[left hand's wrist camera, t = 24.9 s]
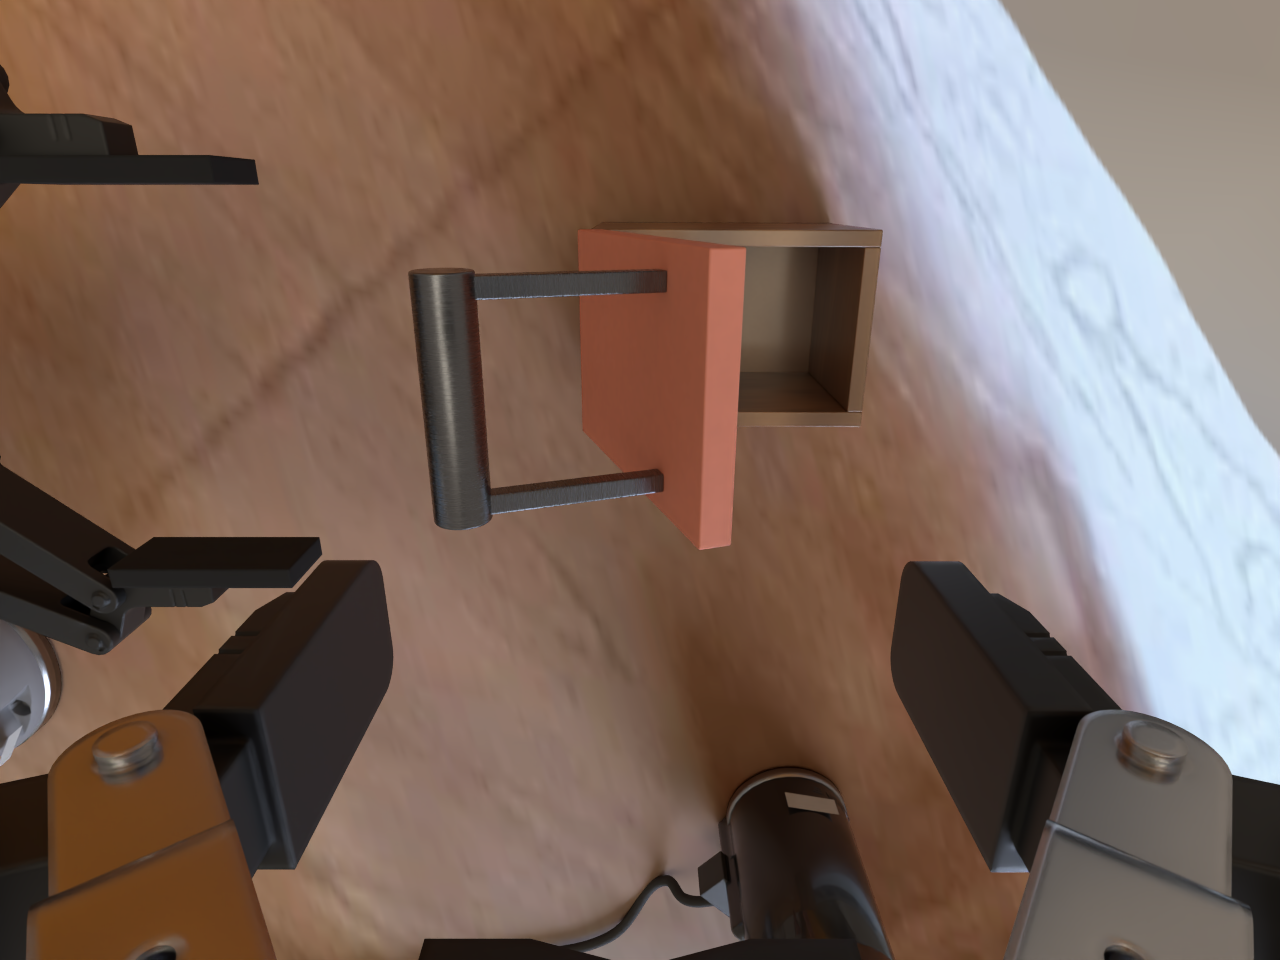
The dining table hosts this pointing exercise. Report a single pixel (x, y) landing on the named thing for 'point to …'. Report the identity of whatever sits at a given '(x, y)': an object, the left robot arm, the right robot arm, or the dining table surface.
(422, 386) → the lid
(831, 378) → the chest
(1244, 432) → the dining table surface
